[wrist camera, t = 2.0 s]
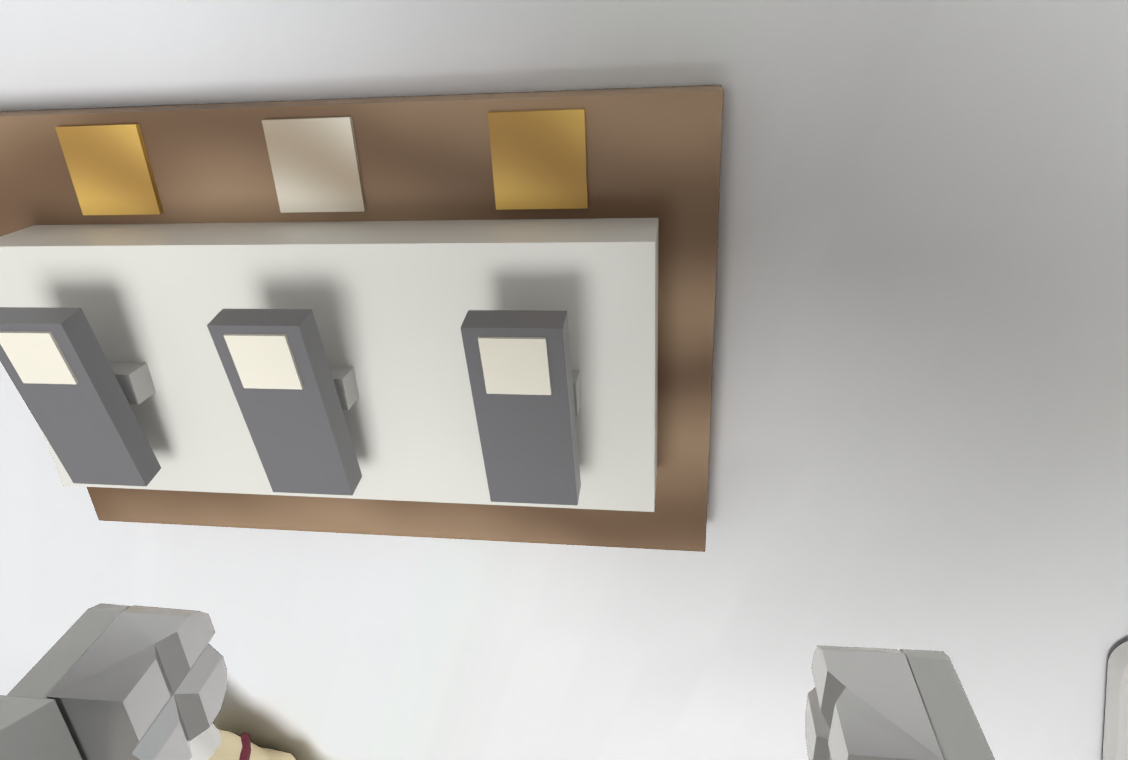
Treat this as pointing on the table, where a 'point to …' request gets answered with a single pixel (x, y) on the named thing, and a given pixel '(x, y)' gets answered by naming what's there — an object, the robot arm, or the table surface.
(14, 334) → the block
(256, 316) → the rocker
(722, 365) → the table surface
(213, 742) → the cartoon head
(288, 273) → the switch housing
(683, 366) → the chart board
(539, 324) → the block
